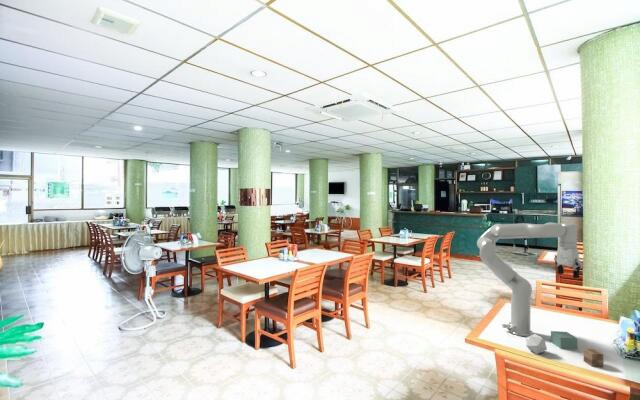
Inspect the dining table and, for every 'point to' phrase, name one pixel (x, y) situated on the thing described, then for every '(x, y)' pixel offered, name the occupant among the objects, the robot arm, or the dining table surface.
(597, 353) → the walnut block
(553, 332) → the base block
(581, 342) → the dining table surface
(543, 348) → the die
